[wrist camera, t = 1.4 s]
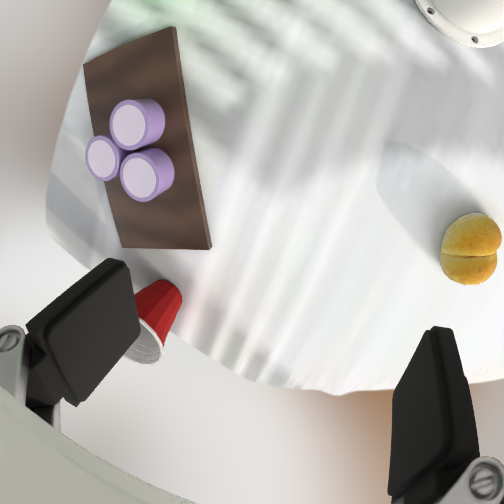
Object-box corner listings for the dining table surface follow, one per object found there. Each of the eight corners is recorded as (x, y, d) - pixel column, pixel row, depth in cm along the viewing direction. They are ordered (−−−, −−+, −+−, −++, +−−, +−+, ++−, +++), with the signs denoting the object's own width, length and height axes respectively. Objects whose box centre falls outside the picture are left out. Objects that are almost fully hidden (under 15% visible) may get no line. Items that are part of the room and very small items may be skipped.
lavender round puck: (131, 151, 39) (114, 157, 36) (169, 143, 37) (153, 149, 34) (141, 194, 42) (125, 203, 39) (178, 191, 40) (164, 200, 37)
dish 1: (123, 104, 36) (105, 106, 33) (161, 92, 34) (144, 94, 31) (131, 148, 39) (114, 154, 36) (169, 140, 37) (153, 146, 34)
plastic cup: (193, 330, 53) (158, 379, 43) (140, 303, 54) (101, 346, 44) (202, 283, 47) (162, 334, 37) (143, 255, 48) (95, 297, 38)
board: (87, 64, 36) (83, 64, 35) (175, 27, 30) (171, 26, 29) (125, 245, 49) (122, 247, 48) (212, 246, 43) (209, 250, 42)
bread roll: (500, 211, 28) (513, 224, 25) (487, 276, 32) (497, 293, 29) (442, 208, 31) (451, 220, 28) (433, 275, 35) (439, 293, 32)
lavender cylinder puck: (98, 135, 40) (81, 140, 37) (129, 126, 37) (112, 131, 34) (106, 176, 42) (90, 184, 39) (138, 171, 40) (122, 178, 37)
